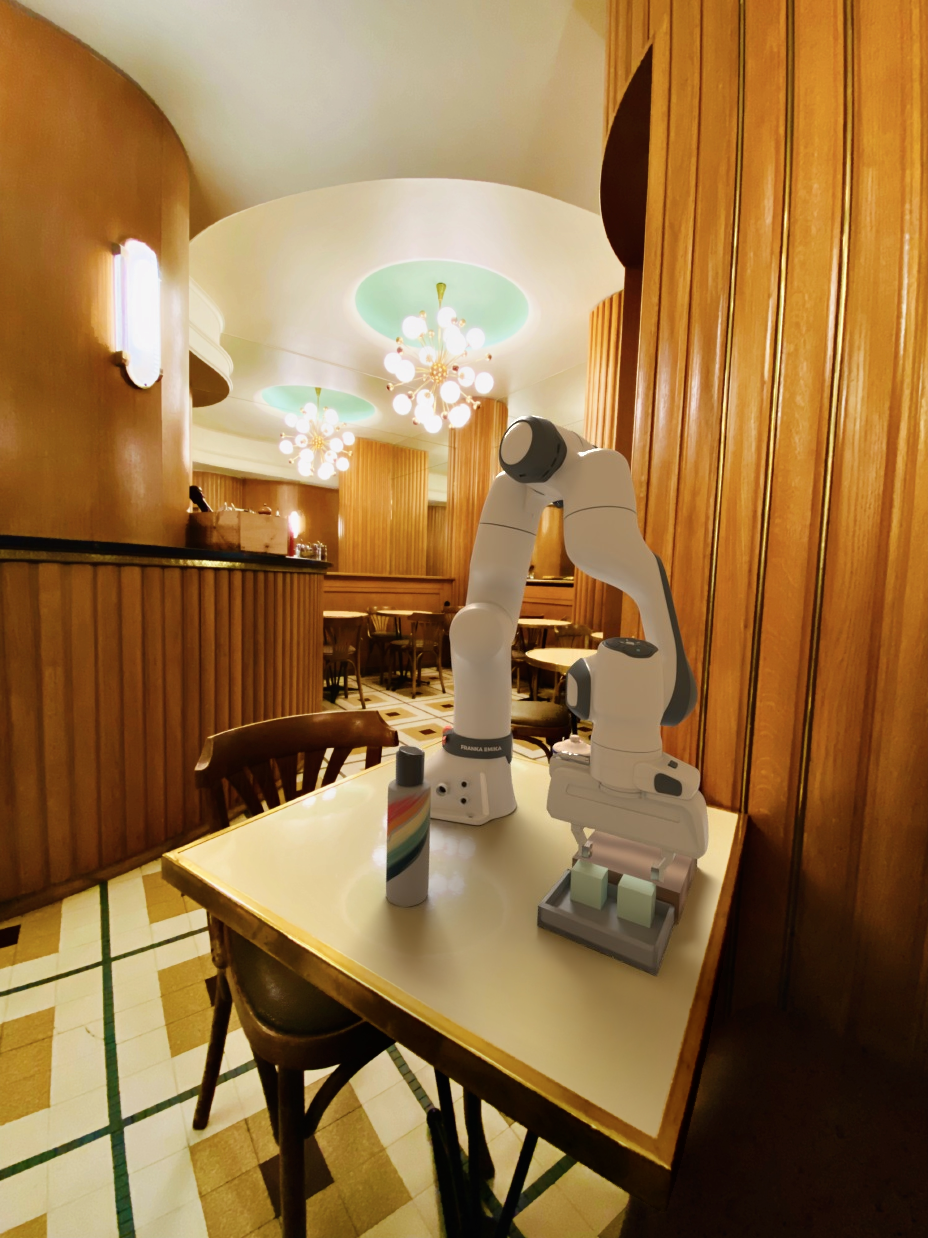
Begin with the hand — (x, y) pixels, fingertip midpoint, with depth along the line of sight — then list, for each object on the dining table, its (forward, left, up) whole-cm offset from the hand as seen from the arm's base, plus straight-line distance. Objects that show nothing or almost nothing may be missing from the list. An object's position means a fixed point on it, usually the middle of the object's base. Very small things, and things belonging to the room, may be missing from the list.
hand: (620, 867), depth 64 cm
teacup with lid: (-2, +37, -5) cm, 37 cm away
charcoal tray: (-3, -4, -5) cm, 7 cm away
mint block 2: (+2, -2, -2) cm, 4 cm away
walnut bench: (+4, +7, -5) cm, 10 cm away
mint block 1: (-3, +1, -2) cm, 4 cm away
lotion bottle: (-28, -1, -5) cm, 29 cm away
